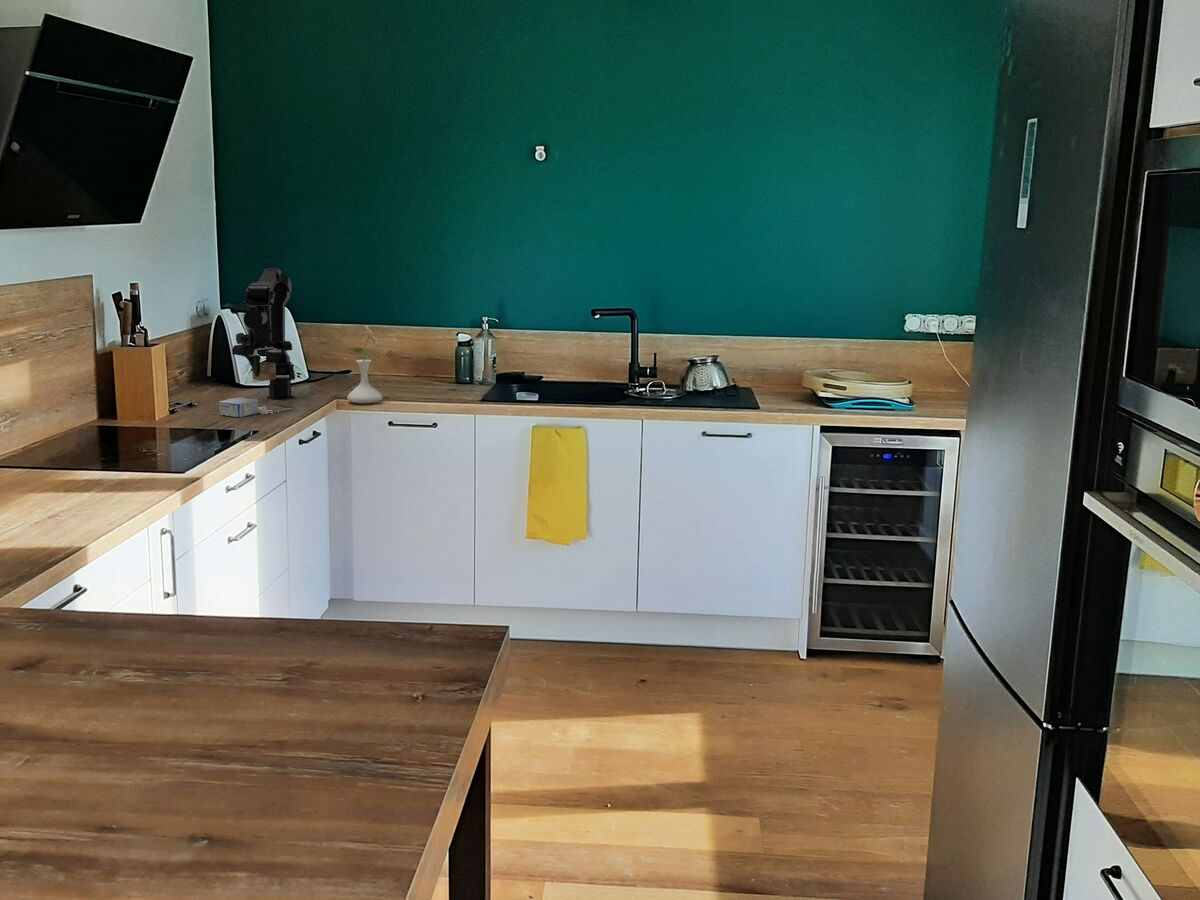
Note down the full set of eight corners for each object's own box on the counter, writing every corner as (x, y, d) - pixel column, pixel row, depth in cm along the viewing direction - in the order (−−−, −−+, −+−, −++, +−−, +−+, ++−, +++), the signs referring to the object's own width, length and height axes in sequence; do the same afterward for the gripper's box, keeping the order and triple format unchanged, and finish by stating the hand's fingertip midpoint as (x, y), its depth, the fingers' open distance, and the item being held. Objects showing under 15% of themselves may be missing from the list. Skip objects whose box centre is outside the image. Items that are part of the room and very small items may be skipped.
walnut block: (265, 377, 368) (265, 361, 367) (276, 379, 365) (275, 363, 364) (252, 379, 364) (251, 363, 363) (262, 381, 361) (262, 365, 360)
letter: (267, 404, 375) (267, 403, 375) (295, 409, 367) (295, 408, 367) (235, 409, 366) (235, 408, 366) (264, 414, 357) (264, 414, 357)
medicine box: (240, 410, 363) (219, 415, 356) (239, 396, 362) (218, 401, 354) (259, 412, 359) (238, 418, 352) (258, 398, 358) (237, 403, 351)
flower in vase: (374, 406, 374) (372, 328, 368) (341, 404, 376) (338, 327, 371) (390, 399, 386) (387, 324, 381) (357, 398, 388) (355, 323, 383)
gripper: (269, 321, 373) (272, 369, 376) (219, 326, 358) (222, 376, 361) (292, 323, 366) (294, 373, 370) (242, 328, 352) (245, 380, 355)
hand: (264, 375), depth 364 cm, fingers closed on walnut block, 5 cm apart
